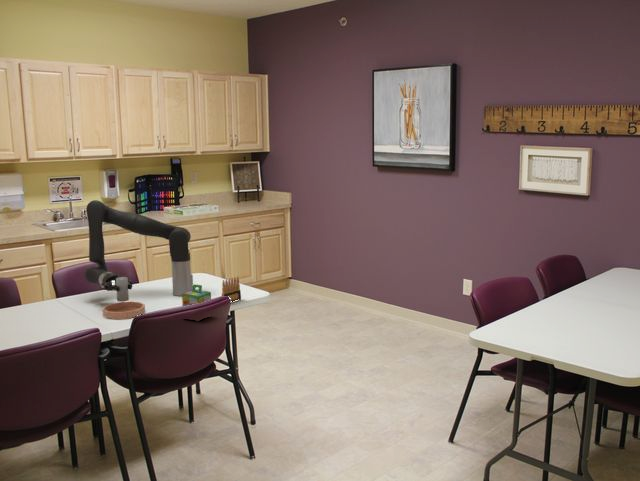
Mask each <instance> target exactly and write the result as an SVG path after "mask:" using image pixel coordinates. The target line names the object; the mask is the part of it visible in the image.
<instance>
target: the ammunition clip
mask: <svg viewBox="0 0 640 481" xmlns="http://www.w3.org/2000/svg"><path fill="white" fill-rule="evenodd" d="M221 286H222V288H221V291H222V292H221V297H222V296H229V297H230V298H231V301H232V302H233V301H235V300H238V299H241V300H242V293H241V284H240V278H239V275H238V276H234V278H233V277H231V279H230V278H228V279H227V278H226V279H223V280H222V285H221ZM233 303H234V302H233Z"/></svg>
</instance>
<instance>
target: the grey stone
mask: <svg viewBox="0 0 640 481" xmlns="http://www.w3.org/2000/svg"><path fill="white" fill-rule="evenodd" d="M128 279H129V278H128V277H127V276H121V277H120V276H119V278H116V285H117V286H119V291H118V292H117V291H116V300H117V302H118V303H119V302H129V299H130V296H129V289H128Z"/></svg>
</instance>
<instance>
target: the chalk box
mask: <svg viewBox="0 0 640 481" xmlns="http://www.w3.org/2000/svg"><path fill="white" fill-rule="evenodd" d="M196 288H198V289H196ZM181 298H182V300H181V302H182V307H183V306H187V305H192V304H197V303H201V302H204V301H208V300H211V301H212V292H211V291H208V290H203V286H202V284H194V283H193V290H192V291H189V292H186V293H183V294H182V296H181Z"/></svg>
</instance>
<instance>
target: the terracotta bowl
mask: <svg viewBox="0 0 640 481" xmlns="http://www.w3.org/2000/svg"><path fill="white" fill-rule="evenodd" d="M144 312H146V305H145V303H143V302H140V301H123V302H119V301H118V302H114V303H110V304H108V305H105V306H104V307H103V309H102V317H104V316H105V317H104V318H106V319H108V318H112V319H111V320H128V318H129V319H133V318H132V317H134V318H136V317H135V316H137V315H140V314H142V315H144V314H145V313H144ZM140 316H141V315H140Z"/></svg>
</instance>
